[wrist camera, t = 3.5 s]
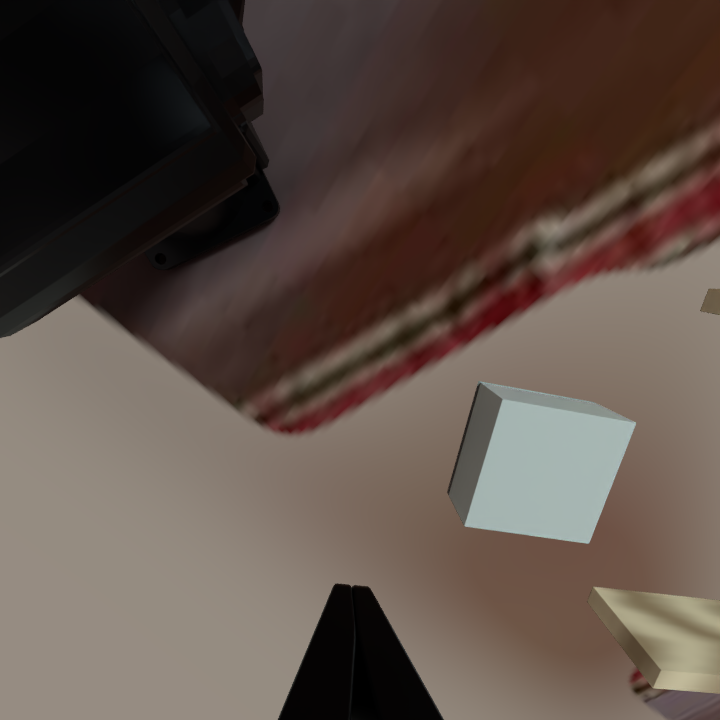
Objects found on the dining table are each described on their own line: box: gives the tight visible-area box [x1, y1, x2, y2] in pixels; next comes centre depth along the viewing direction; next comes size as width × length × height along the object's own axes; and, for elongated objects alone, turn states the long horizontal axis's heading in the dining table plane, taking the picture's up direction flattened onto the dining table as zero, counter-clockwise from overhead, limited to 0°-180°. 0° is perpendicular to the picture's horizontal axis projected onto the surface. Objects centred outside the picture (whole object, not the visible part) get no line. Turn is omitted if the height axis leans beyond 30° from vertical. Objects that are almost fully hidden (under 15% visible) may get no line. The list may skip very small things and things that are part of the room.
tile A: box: [447, 381, 636, 543], centre depth 19 cm, size 7×7×3 cm
